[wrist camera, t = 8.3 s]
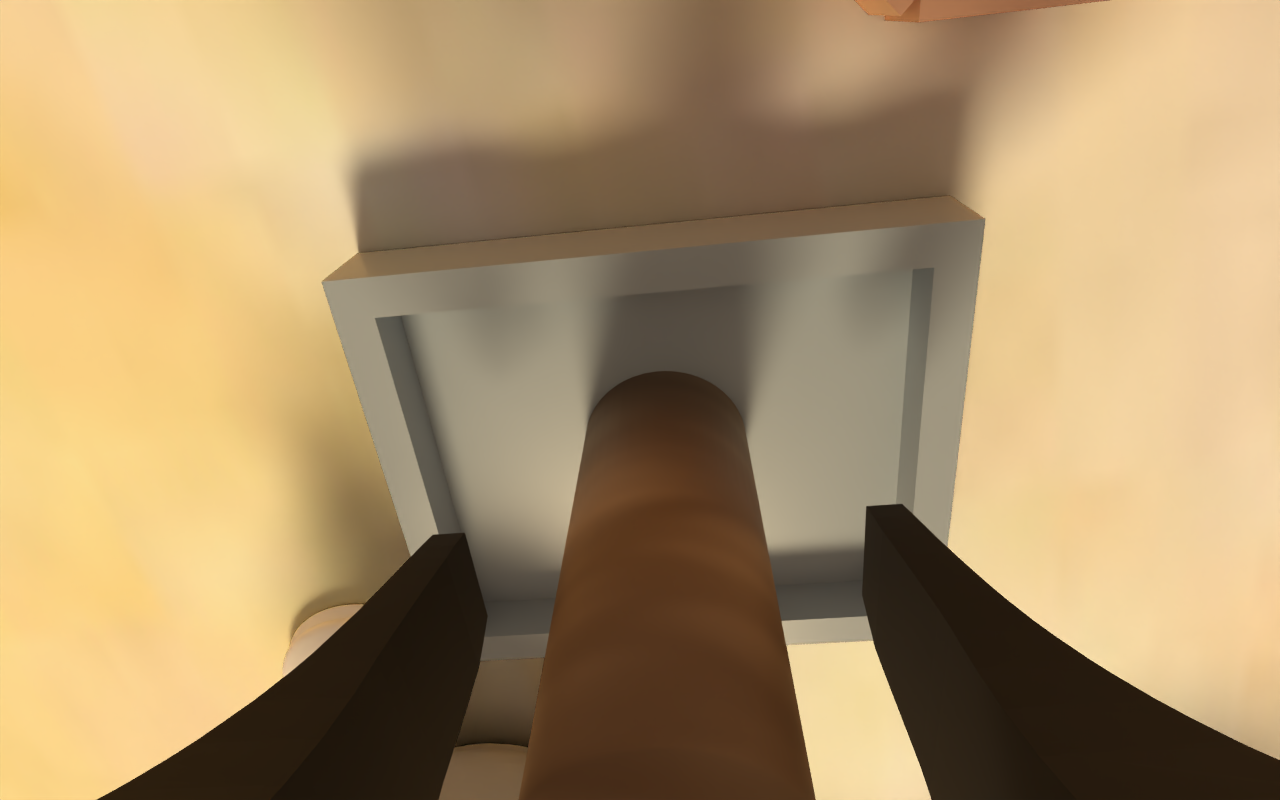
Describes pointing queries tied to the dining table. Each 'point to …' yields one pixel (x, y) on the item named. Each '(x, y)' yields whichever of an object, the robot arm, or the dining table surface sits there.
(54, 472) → the dining table surface
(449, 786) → the teacup
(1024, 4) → the ring holder
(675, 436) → the dowel
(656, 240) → the tray
